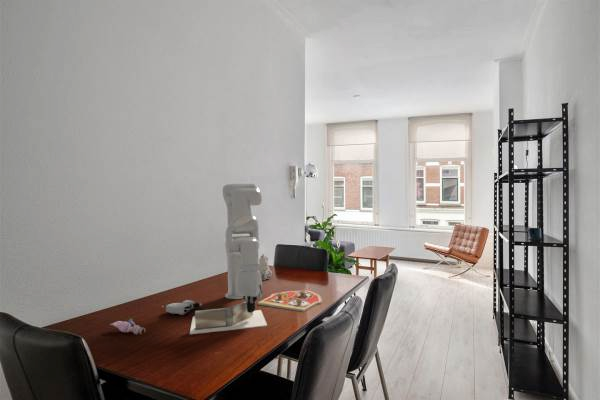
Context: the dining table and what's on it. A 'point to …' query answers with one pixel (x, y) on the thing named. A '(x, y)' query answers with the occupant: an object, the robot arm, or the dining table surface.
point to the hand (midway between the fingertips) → (251, 311)
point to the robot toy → (181, 307)
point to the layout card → (248, 322)
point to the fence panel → (240, 312)
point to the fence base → (213, 318)
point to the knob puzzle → (292, 300)
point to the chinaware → (264, 268)
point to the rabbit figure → (128, 327)
